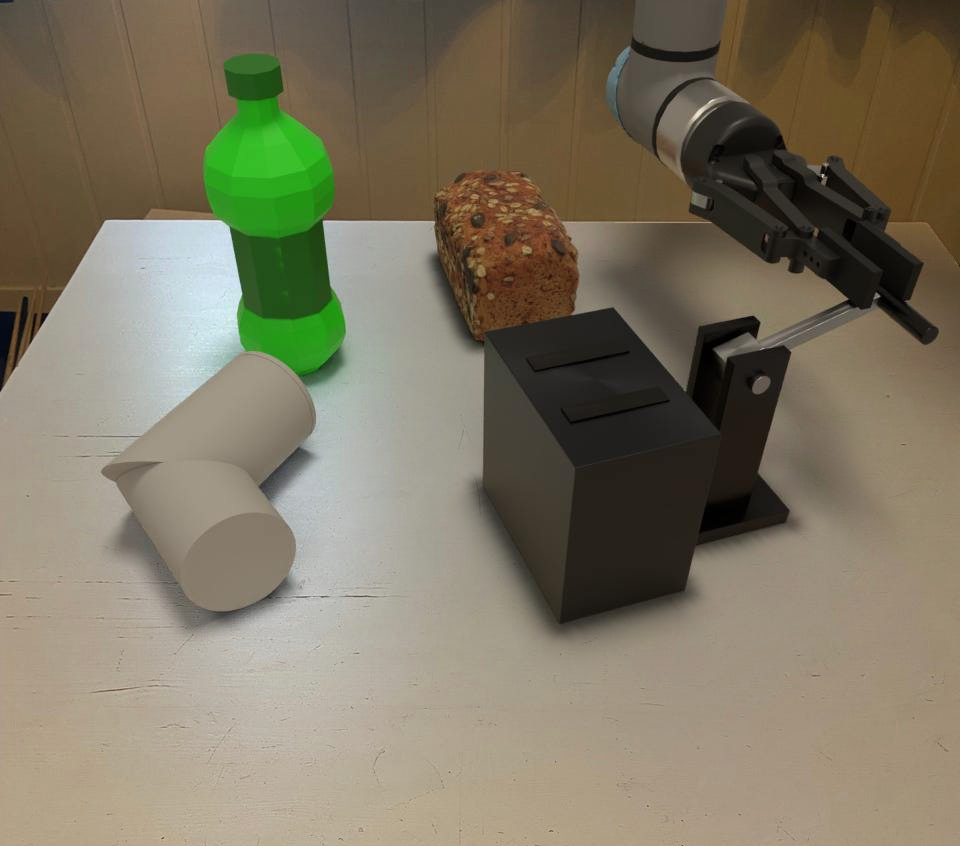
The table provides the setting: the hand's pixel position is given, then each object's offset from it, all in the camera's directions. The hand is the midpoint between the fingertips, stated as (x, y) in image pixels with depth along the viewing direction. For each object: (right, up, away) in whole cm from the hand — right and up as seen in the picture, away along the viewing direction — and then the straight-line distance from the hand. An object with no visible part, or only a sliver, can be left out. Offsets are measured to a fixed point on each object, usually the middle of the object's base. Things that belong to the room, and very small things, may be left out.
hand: (891, 286), depth 66 cm
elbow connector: (-47, -14, +11) cm, 50 cm away
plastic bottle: (-45, +2, +25) cm, 51 cm away
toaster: (-20, -16, +9) cm, 27 cm away
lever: (-5, -3, +3) cm, 7 cm away
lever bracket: (-10, -13, +12) cm, 20 cm away
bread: (-26, +11, +33) cm, 43 cm away
